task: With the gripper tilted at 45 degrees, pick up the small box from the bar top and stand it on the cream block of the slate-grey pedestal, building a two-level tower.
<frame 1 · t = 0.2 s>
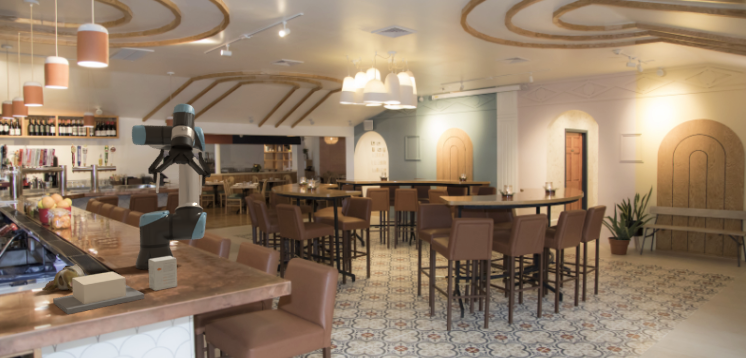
hand: (178, 192, 162), 35 cm above the table, fingers open, 13 cm apart
ceramic sculpture: (67, 289, 169), on the table
pedestal: (99, 300, 155), on the table
small box: (163, 287, 171), on the table
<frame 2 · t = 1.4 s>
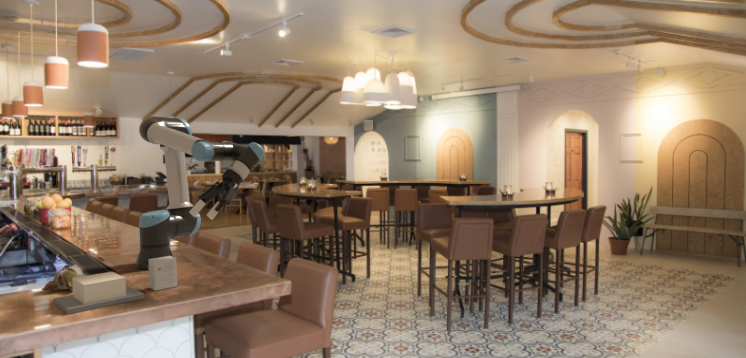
hand: (200, 216, 178), 25 cm above the table, fingers open, 13 cm apart
nothing on the table moved.
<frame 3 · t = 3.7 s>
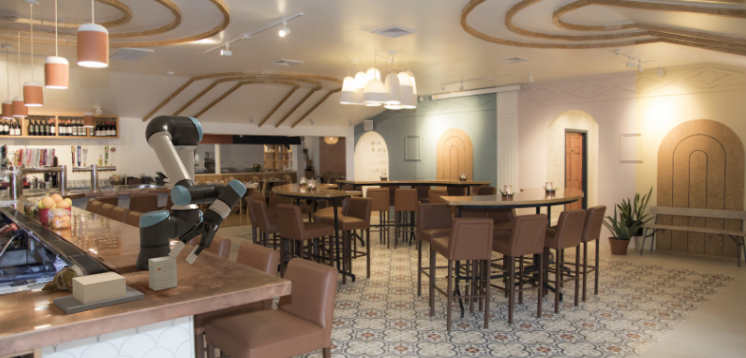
hand: (179, 259, 173), 10 cm above the table, fingers open, 13 cm apart
nothing on the table moved.
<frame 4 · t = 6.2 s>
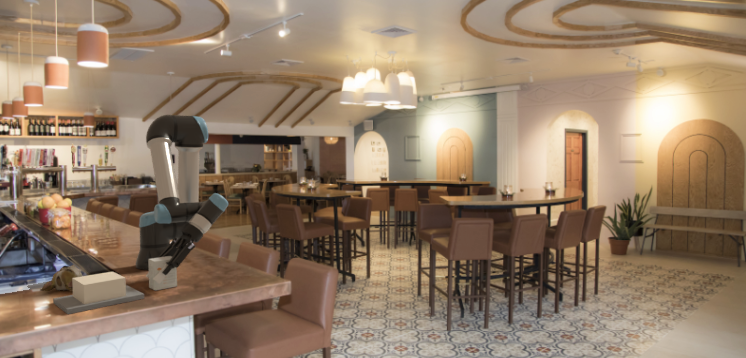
hand: (152, 279, 168), 3 cm above the table, fingers closed on small box, 6 cm apart
small box: (163, 287, 171), on the table, touching gripper
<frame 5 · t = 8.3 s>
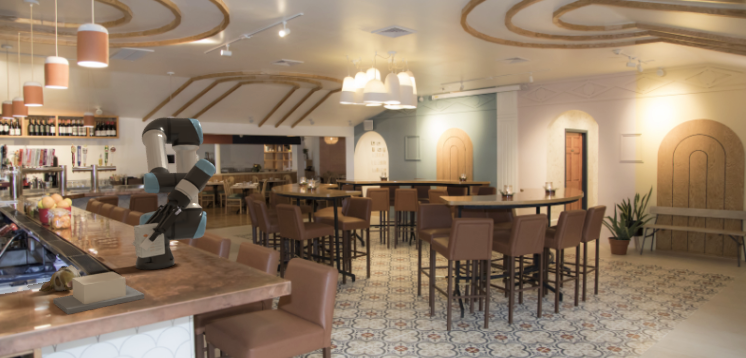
hand: (138, 247, 162), 16 cm above the table, fingers closed on small box, 6 cm apart
small box: (150, 255, 165), point 13 cm above the table, touching gripper
when the fingers open (12 cm above the table, at t = 10.3 s): small box drops 1 cm, resting on pedestal.
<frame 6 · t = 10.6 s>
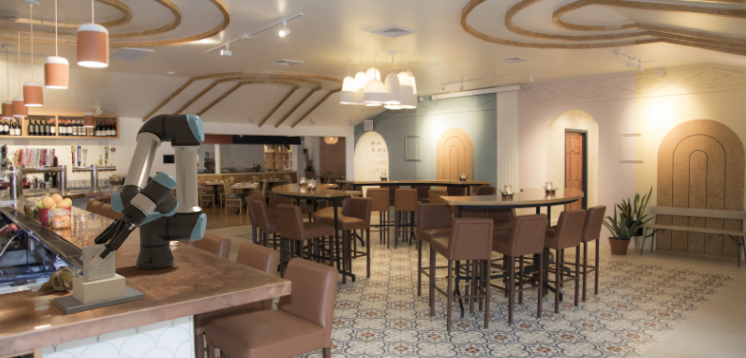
hand: (87, 263, 152), 13 cm above the table, fingers open, 9 cm apart
small box: (99, 278, 154), point 7 cm above the table, touching pedestal
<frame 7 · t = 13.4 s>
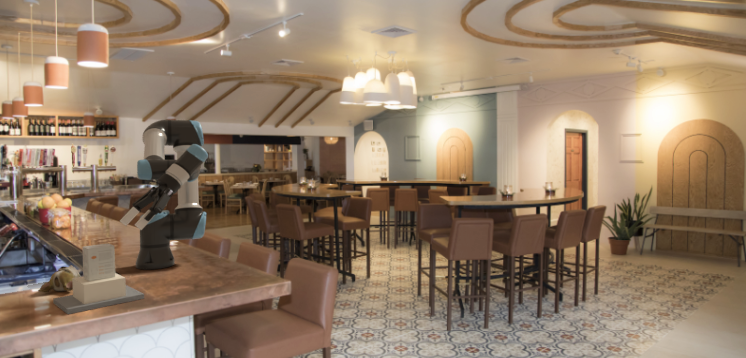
hand: (130, 225, 161), 24 cm above the table, fingers open, 13 cm apart
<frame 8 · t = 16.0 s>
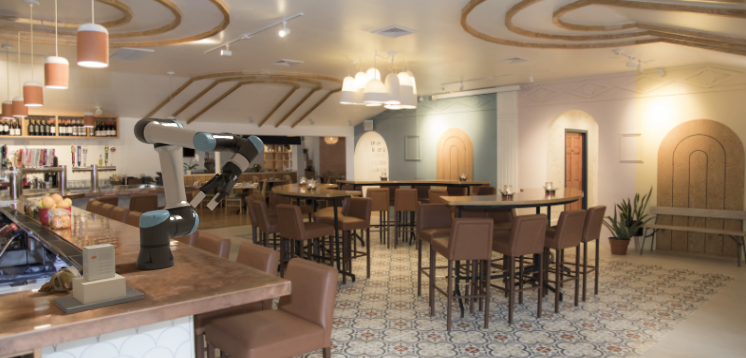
hand: (200, 206, 182), 28 cm above the table, fingers open, 13 cm apart
at the end: small box inside the target area on the pedestal (0.1 cm from its centre), point 7.3 cm above the pedestal's base; small box tilted 0°; the gripper is holding nothing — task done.
